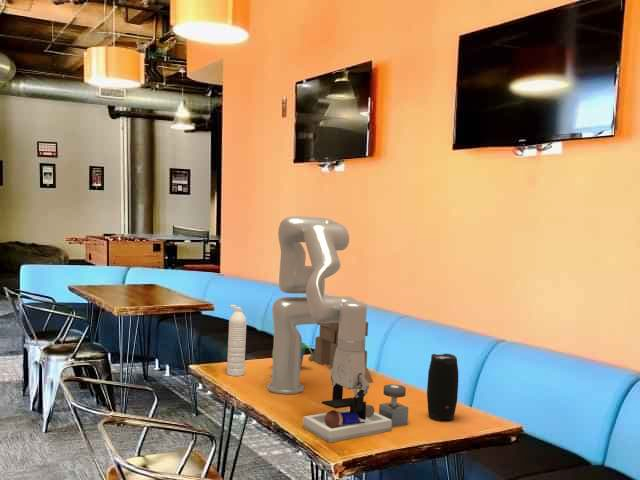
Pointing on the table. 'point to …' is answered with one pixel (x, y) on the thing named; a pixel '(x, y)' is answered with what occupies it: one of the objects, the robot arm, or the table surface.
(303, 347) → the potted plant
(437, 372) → the portable speaker
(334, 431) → the tray
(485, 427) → the table surface
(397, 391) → the gray mushroom knob
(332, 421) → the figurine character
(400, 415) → the block
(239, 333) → the water bottle
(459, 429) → the table surface
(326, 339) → the brown block wall
